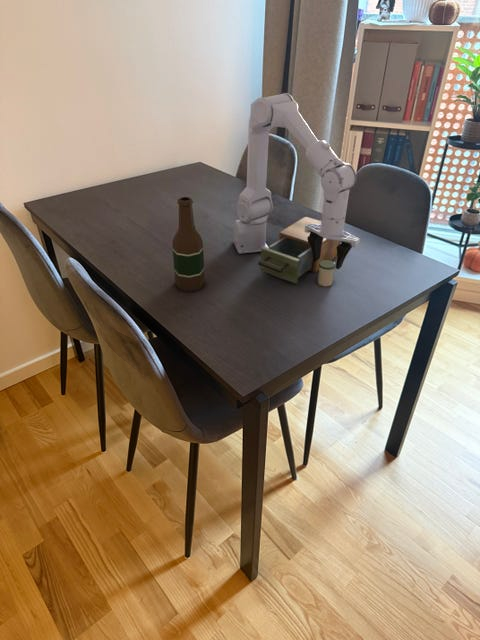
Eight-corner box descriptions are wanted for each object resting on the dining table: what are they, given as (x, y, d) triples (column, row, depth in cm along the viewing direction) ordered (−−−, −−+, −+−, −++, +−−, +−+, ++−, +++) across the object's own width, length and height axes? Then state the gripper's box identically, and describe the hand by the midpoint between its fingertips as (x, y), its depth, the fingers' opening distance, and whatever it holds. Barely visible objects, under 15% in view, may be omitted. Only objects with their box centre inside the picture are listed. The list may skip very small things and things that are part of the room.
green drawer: (286, 290, 125) (287, 267, 121) (250, 276, 130) (251, 254, 127) (319, 264, 136) (322, 243, 132) (285, 252, 142) (287, 231, 138)
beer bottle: (175, 277, 131) (169, 192, 117) (204, 276, 132) (201, 192, 118) (175, 292, 125) (168, 205, 111) (204, 291, 126) (201, 204, 112)
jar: (320, 287, 128) (322, 268, 125) (314, 279, 132) (316, 260, 128) (335, 285, 129) (338, 266, 125) (329, 277, 132) (332, 259, 129)
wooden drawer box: (315, 272, 134) (318, 245, 129) (277, 259, 141) (279, 232, 135) (339, 254, 144) (342, 227, 138) (302, 242, 150) (305, 216, 145)
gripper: (368, 217, 118) (359, 266, 126) (316, 203, 125) (311, 250, 133) (355, 227, 113) (347, 276, 121) (302, 211, 120) (298, 259, 128)
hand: (327, 263), depth 127 cm, fingers open, 6 cm apart
